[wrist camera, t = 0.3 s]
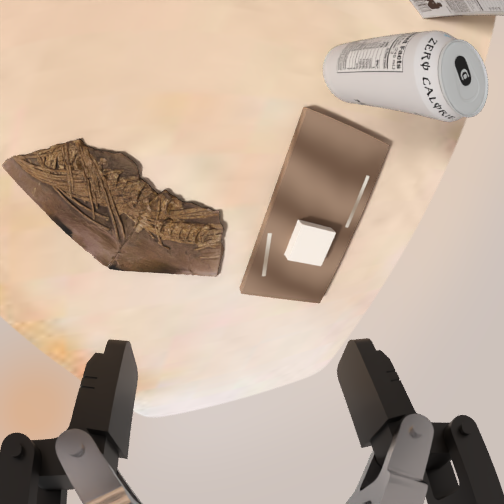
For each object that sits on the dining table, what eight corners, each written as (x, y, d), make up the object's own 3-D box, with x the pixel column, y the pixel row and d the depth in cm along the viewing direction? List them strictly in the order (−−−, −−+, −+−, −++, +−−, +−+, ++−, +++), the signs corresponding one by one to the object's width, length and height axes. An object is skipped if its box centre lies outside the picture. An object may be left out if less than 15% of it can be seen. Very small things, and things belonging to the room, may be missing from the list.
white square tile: (297, 219, 30) (302, 224, 29) (331, 227, 31) (336, 232, 30) (284, 254, 32) (287, 260, 31) (316, 260, 33) (321, 266, 32)
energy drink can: (337, 113, 26) (452, 143, 14) (306, 59, 23) (417, 44, 11) (381, 87, 26) (500, 106, 13) (354, 36, 23) (473, 21, 10)
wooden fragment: (250, 229, 31) (252, 234, 30) (192, 305, 34) (193, 311, 33) (31, 100, 20) (26, 100, 19) (-6, 197, 23) (-11, 201, 22)
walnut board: (303, 107, 26) (307, 107, 25) (384, 143, 29) (389, 145, 28) (239, 288, 34) (241, 293, 33) (316, 298, 37) (319, 303, 36)
